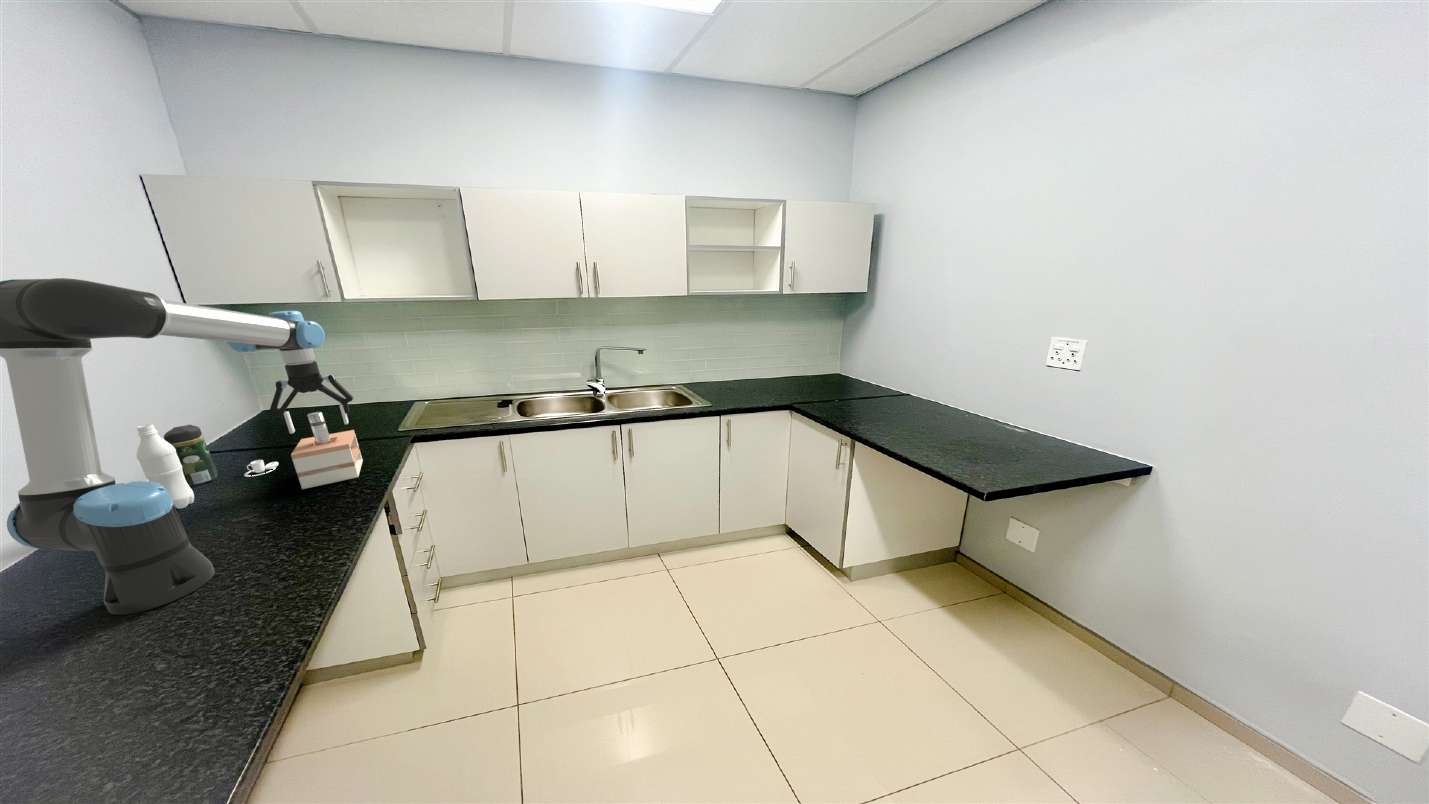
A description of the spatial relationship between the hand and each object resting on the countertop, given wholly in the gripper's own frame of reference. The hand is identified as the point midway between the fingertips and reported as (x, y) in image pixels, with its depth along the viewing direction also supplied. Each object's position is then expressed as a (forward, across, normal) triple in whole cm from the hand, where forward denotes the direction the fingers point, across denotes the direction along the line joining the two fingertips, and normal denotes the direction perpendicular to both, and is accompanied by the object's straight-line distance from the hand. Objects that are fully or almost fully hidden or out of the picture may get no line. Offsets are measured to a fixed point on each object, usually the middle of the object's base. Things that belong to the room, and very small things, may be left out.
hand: (320, 427), depth 148 cm
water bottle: (+16, +36, 0) cm, 40 cm away
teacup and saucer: (+17, +19, -18) cm, 31 cm away
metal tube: (+15, 0, 0) cm, 15 cm away
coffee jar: (+16, +37, -21) cm, 46 cm away
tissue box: (+16, 0, 0) cm, 16 cm away
